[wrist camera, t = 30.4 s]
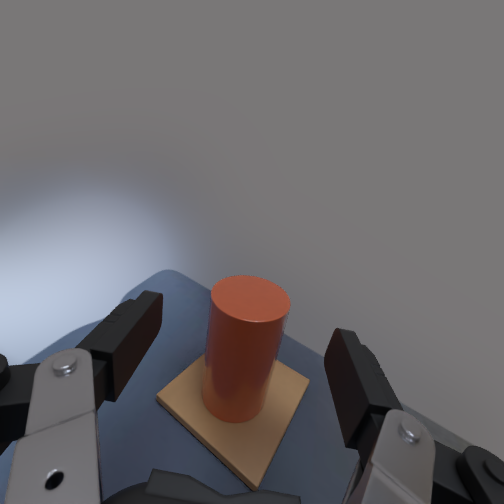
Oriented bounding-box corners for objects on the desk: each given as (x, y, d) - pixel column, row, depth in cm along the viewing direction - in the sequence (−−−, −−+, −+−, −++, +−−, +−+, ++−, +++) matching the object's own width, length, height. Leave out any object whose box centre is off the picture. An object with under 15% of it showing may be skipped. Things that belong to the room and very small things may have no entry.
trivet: (228, 336, 28) (229, 331, 28) (308, 385, 24) (310, 380, 23) (156, 400, 20) (156, 394, 20) (255, 494, 16) (257, 487, 15)
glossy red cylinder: (261, 362, 24) (281, 278, 20) (271, 423, 19) (300, 324, 15) (204, 361, 23) (213, 272, 19) (197, 423, 18) (208, 319, 14)
